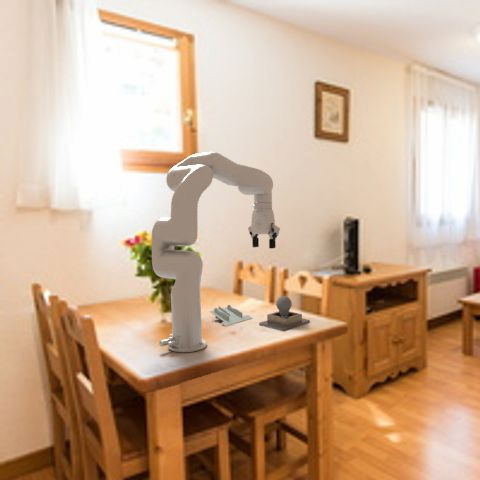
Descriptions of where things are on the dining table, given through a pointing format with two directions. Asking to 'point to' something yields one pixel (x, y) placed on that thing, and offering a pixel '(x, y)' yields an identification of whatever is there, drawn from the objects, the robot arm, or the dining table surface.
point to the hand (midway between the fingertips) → (263, 247)
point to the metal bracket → (229, 315)
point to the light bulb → (283, 305)
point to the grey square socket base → (284, 321)
